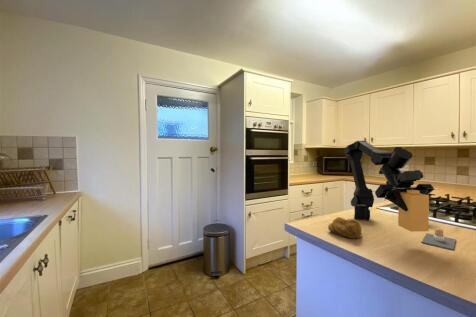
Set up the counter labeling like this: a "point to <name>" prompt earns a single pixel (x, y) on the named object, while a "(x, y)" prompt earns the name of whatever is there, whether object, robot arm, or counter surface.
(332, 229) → the bread roll
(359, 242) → the counter surface
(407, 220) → the orange toy brick
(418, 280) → the counter surface
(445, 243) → the plate
